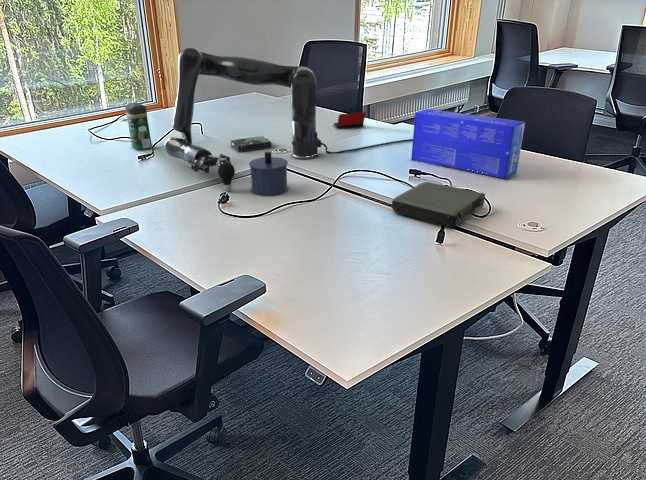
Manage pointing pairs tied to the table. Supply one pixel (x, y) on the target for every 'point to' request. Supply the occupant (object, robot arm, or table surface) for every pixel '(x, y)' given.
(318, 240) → the table surface
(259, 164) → the pot lid
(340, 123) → the handheld console
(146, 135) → the coffee jar
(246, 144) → the disk drive
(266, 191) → the pot
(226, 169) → the light bulb
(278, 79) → the robot arm
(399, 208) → the network switch
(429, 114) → the blue cardboard box
